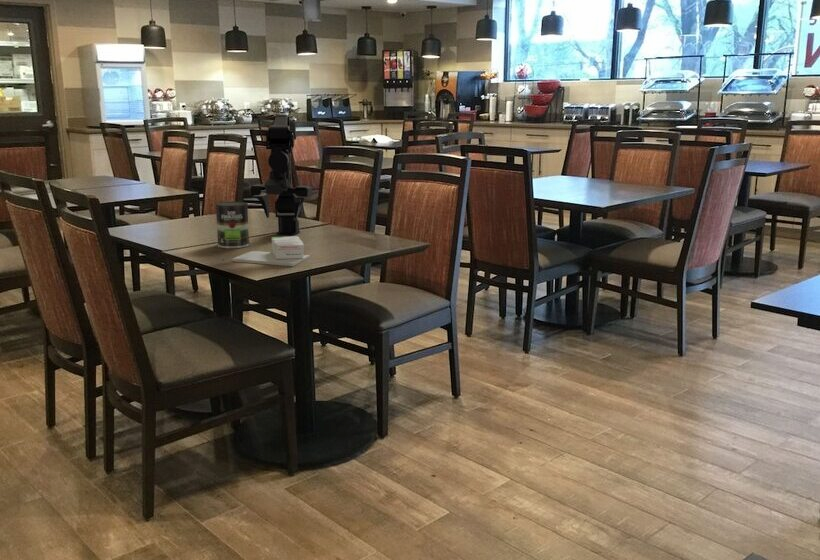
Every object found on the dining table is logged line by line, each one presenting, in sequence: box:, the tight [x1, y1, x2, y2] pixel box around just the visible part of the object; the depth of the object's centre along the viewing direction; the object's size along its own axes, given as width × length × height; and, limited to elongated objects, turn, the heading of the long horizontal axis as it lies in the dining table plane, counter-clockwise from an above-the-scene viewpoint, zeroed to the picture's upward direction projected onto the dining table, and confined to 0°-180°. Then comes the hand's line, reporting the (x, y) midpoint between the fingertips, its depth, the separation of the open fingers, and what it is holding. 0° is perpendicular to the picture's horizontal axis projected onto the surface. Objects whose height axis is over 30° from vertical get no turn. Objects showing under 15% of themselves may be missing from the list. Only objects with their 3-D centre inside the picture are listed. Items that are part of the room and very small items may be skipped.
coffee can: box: [215, 201, 250, 250], centre depth 245 cm, size 10×10×14 cm
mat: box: [231, 250, 311, 267], centre depth 226 cm, size 20×12×1 cm, turn 72°
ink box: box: [270, 235, 305, 259], centre depth 226 cm, size 9×5×15 cm
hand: (281, 218), depth 232 cm, fingers open, 9 cm apart
